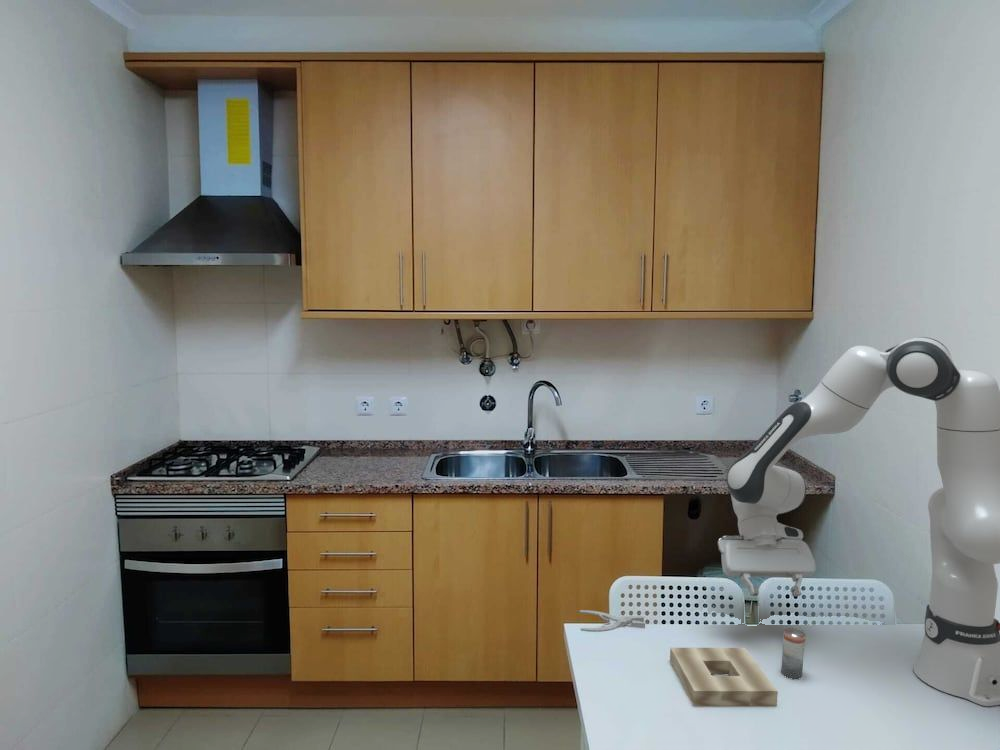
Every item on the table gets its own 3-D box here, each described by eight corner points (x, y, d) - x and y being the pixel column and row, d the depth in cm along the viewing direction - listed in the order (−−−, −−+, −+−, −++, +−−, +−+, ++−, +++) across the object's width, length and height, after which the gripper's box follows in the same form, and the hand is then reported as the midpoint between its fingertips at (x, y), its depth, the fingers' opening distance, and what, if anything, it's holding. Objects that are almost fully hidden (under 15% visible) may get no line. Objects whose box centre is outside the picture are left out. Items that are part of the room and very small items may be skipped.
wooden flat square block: (743, 661, 147) (744, 647, 147) (776, 705, 131) (777, 691, 131) (669, 660, 147) (670, 647, 146) (693, 705, 131) (694, 691, 130)
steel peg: (796, 668, 145) (799, 628, 144) (805, 679, 141) (809, 637, 140) (777, 668, 145) (780, 628, 144) (786, 679, 141) (789, 637, 139)
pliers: (579, 606, 168) (642, 610, 167) (579, 612, 169) (641, 616, 167) (581, 625, 159) (647, 629, 157) (580, 632, 159) (647, 636, 158)
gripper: (720, 529, 156) (733, 589, 148) (808, 530, 157) (827, 590, 149) (712, 541, 161) (724, 600, 153) (798, 542, 162) (815, 600, 153)
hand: (775, 595), depth 151 cm, fingers open, 8 cm apart
